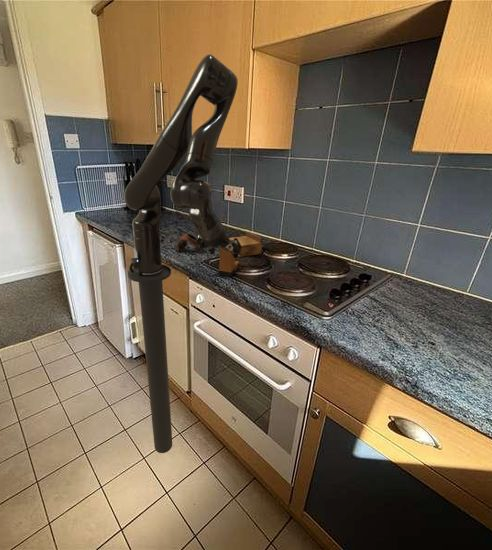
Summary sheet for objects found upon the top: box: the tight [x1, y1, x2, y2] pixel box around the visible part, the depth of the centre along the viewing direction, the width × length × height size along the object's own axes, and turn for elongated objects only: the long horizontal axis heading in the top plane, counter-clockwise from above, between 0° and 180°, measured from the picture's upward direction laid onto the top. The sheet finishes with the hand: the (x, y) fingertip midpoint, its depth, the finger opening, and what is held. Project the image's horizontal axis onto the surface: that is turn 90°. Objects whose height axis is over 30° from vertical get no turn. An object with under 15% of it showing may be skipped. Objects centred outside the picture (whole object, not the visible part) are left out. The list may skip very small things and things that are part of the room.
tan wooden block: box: [227, 231, 263, 258], centre depth 133 cm, size 11×12×7 cm
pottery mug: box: [175, 233, 200, 252], centre depth 132 cm, size 12×10×8 cm
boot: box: [218, 246, 240, 278], centre depth 111 cm, size 9×5×10 cm, turn 157°
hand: (224, 253), depth 105 cm, fingers open, 8 cm apart
